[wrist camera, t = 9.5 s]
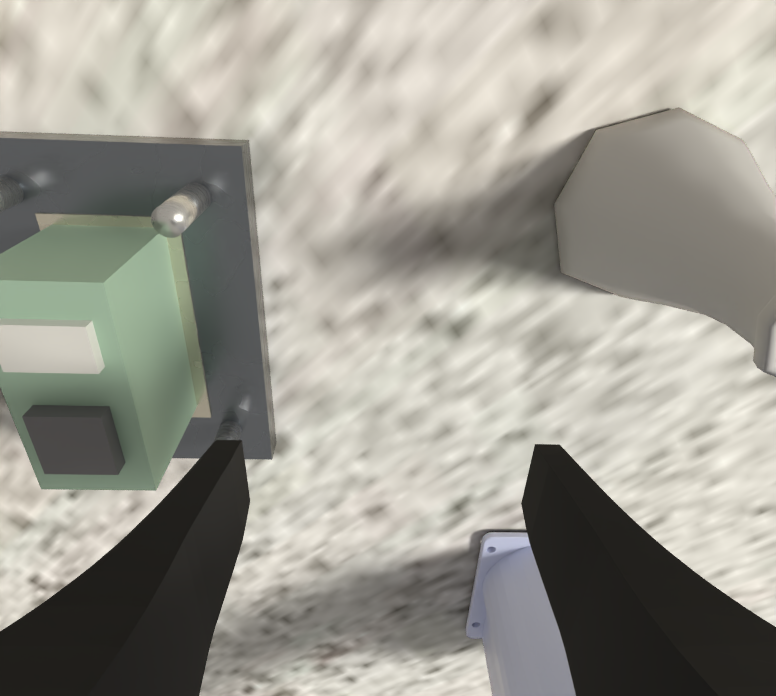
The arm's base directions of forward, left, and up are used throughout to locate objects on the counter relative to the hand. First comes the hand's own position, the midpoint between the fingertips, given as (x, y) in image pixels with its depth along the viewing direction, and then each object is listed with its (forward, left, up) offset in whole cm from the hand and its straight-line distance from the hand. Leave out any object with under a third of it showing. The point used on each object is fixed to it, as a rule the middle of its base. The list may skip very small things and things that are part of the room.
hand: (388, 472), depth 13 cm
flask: (+4, -10, -11) cm, 15 cm away
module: (-1, +10, -9) cm, 14 cm away
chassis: (-1, +10, -10) cm, 14 cm away
